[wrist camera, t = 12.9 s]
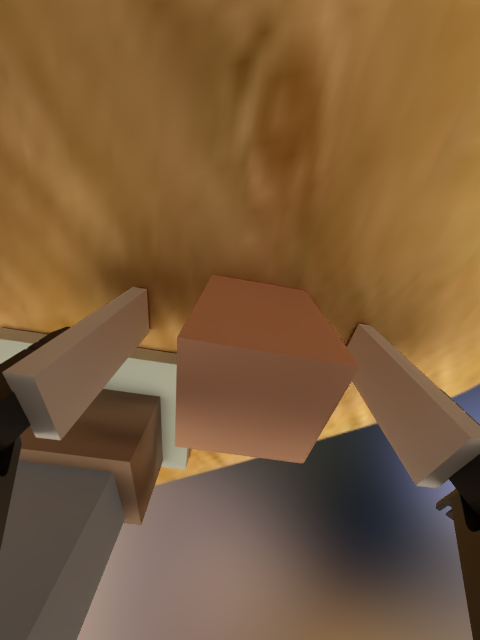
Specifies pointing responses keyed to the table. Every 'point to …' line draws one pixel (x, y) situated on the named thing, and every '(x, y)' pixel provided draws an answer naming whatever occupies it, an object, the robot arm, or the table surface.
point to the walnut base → (110, 446)
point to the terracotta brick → (257, 371)
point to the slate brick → (55, 549)
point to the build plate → (128, 384)
